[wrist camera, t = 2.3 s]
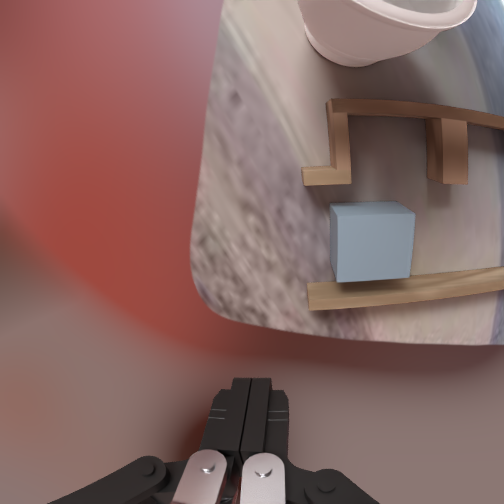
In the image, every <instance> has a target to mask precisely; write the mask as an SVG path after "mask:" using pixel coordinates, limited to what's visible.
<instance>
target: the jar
mask: <svg viewBox="0 0 504 504" xmlns="http://www.w3.org/2000/svg"><path fill="white" fill-rule="evenodd" d="M297 1H298V5H299V8H300V11H301V14H302V17H303V20H304V23H305V32H306V35H307V37H308V39H309V41H310V43H311V44H312V46H313V47H314V48H315V49H316V50H317V51H318V52H319V53H320V54H321V55H322V56H324V57H325V58H327V59H329V60H330V61H332V62H335V63H337V64H340V65H344V66H349V67H362V66H368V65H371V64H373V63H375V62H377V61H381V60H385V59H389V58H394V57H398V56H402V55H405V54H408V53H410V52H413V51H415V50H417V49H419V48H420V47H422V46H424V45H425V44H427V43H428V42H430V41H431V40H432V39H433V38H434V37H436V36H437V35H438V34H439V33H440V32H441V31H445V30H449V29H452V28H454V27H456V26H458V25H460V24H461V23H463V22H465V21H466V20H467V19H469V18H470V16H471V15H472V14H473V12H474V10H475V8H476V4H477V0H297Z"/></svg>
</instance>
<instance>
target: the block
mask: <svg viewBox="0 0 504 504" xmlns="http://www.w3.org/2000/svg"><path fill="white" fill-rule="evenodd" d="M414 228H415V213H414V212H412V211H411V210H409V209H408V208H406V207H405V206H403V205H402V204H400V203H399V202H397V201H379V202H343V203H330V261H331V265H332V268H333V271H334V274H335V278H336V281H337V282H354V281H370V280H384V279H398V278H409V276H410V268H411V260H412V251H413V241H414Z"/></svg>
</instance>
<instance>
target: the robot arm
mask: <svg viewBox="0 0 504 504" xmlns="http://www.w3.org/2000/svg"><path fill="white" fill-rule="evenodd" d="M271 382H272V381H271V378H253V379H252V378H234V379H233V382H232V387H231V390H225V389H221V390H220V391H219V393H218V394H217V395H216V396H215V397H214V399H213V403H212V407H211V410H210V414H209V418H208V421H207V424H206V428H205V431H204V435H203V438H202V442H201V445H200V448H199V450H198V452H196V453H194V454H193V455H192V456H191V457H190V458H189V459H187V460H184V461H178V462H168V463H163V461H161V459H159V458H157V457H154V456H143V457H141V458H138V459H137V460H135V461H133V462H131V463H130V464H128V465H126V466H124V467H123V468H121V469H119V470H117V471H115V472H113V473H111V474H109V475H108V476H106V477H104V478H102V479H100V480H98V481H96V482H94V483H92V484H90V485H88V486H86V487H84V488H82V489H79V490H77V491H75V492H73V493H71V494H69V495H67V496H64V497H62V498H60V499H57V500H55V501H52V502H50V503H48V504H235V501H236V498H237V494H238V482H239V477H242V485H241V499H240V504H379V503H378V502H377V501H376V500H374V499H373V498H372V497H370V496H369V495H368V494H367V493H365V492H364V491H363V490H362V489H360V488H359V487H358V486H357V485H356V484H354V483H353V482H352V481H351V480H350V479H348V478H347V477H346V476H345V475H344V474H342V473H341V472H339V471H337V470H334V469H322V470H319V471H316V472H312V471H308V470H304V469H300V468H298V467H296V466H294V465H293V464H292V463H291V462H290V461H289V460H288V458H287V455H288V435H289V433H288V432H289V405H288V398H287V396H286V395H285V392H284V391H283V390H272V383H271Z"/></svg>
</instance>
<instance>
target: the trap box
mask: <svg viewBox="0 0 504 504" xmlns="http://www.w3.org/2000/svg"><path fill="white" fill-rule="evenodd" d="M326 112H327V122H328V134H329V147H330V161H331V166H318V167H301V171H302V181H303V184H304V186H310V185H333V184H351V161H350V144H349V130H348V119H347V115H351V116H390V117H407V118H420V119H425V123H426V141H427V178H429V179H432V180H435V181H437V182H440V183H442V184H466V185H467V184H468V137H467V124H470V125H476V126H482V127H487V128H493V129H498V130H503V131H504V117H502V116H497V115H493V114H489V113H484V112H479V111H474V110H468V109H462V108H456V107H450V106H443V105H436V104H427V103H418V102H408V101H395V100H378V99H330V100H329V101H328V102H327V103H326ZM503 289H504V266H502V267H494V268H485V269H476V270H467V271H457V272H447V273H437V274H426V275H415V276H409V278H398V279H384V280H370V281H354V282H337V281H333V282H316V283H307V296H308V306H309V311H310V310H328V309H343V308H356V307H368V306H380V305H390V304H400V303H410V302H419V301H427V300H436V299H443V298H451V297H458V296H465V295H472V294H479V293H485V292H491V291H497V290H503Z"/></svg>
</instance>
